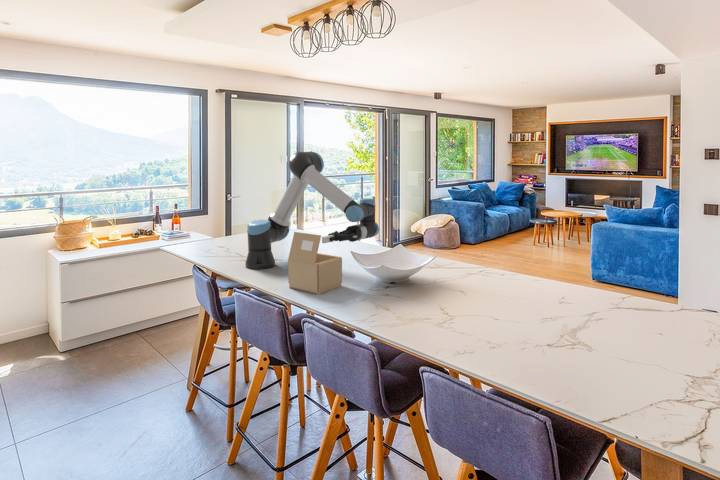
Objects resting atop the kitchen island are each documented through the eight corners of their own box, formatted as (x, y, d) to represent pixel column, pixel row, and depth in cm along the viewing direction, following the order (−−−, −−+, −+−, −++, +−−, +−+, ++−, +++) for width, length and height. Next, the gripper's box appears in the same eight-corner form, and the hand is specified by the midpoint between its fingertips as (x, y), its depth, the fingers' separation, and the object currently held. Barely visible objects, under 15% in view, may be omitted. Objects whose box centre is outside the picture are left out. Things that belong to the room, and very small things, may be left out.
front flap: (288, 259, 202) (294, 231, 203) (289, 259, 202) (295, 232, 203) (314, 263, 193) (320, 235, 194) (314, 264, 193) (321, 235, 195)
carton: (287, 287, 206) (287, 258, 203) (314, 279, 219) (313, 252, 217) (318, 295, 195) (318, 264, 193) (344, 285, 208) (344, 257, 206)
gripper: (366, 242, 223) (334, 250, 204) (345, 239, 230) (312, 246, 212) (366, 226, 222) (334, 233, 203) (344, 223, 229) (312, 230, 210)
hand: (323, 240), depth 207 cm, fingers closed
